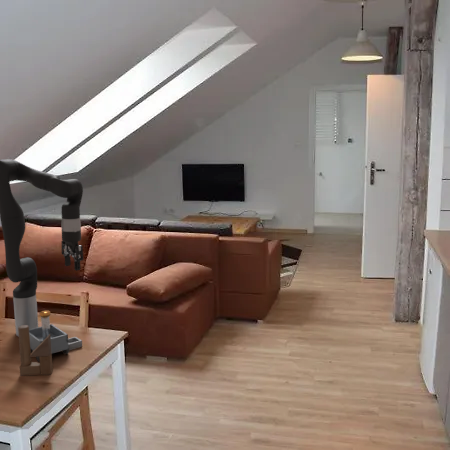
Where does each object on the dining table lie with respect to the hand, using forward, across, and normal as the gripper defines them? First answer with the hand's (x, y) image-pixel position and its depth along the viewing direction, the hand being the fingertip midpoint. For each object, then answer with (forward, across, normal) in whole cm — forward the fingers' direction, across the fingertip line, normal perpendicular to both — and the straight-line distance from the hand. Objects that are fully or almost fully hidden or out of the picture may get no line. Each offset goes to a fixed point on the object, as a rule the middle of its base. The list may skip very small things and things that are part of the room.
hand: (72, 267), depth 212 cm
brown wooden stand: (+32, +18, -24) cm, 44 cm away
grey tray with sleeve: (+31, +5, -10) cm, 33 cm away
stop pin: (+26, +4, -14) cm, 30 cm away
